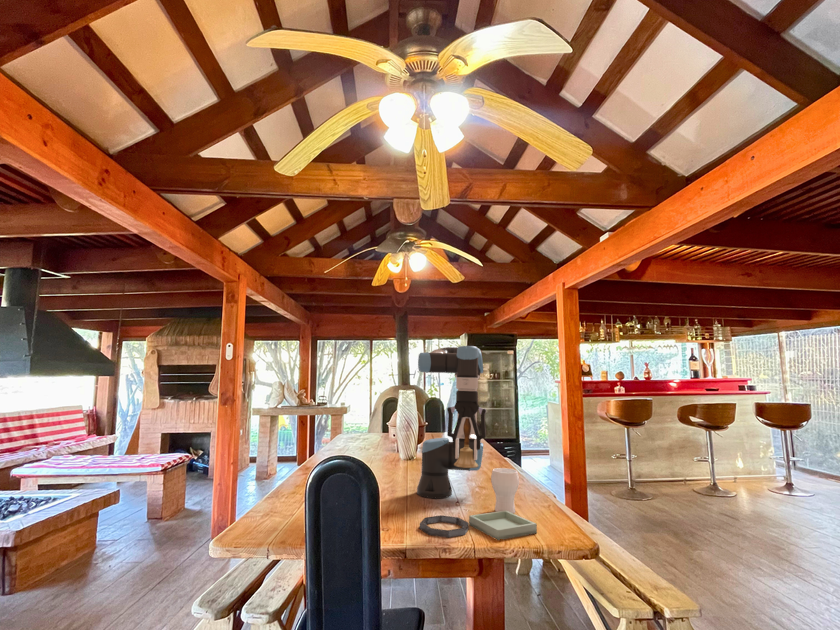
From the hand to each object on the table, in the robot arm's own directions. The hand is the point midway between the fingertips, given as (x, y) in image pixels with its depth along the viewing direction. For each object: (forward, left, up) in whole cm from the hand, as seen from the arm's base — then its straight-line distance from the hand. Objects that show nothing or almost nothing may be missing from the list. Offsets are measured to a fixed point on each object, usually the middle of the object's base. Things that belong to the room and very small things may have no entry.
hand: (466, 458), depth 152 cm
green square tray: (+5, +12, -23) cm, 26 cm away
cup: (-11, +26, -23) cm, 36 cm away
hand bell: (0, 0, -3) cm, 3 cm away
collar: (-3, -6, -23) cm, 24 cm away
